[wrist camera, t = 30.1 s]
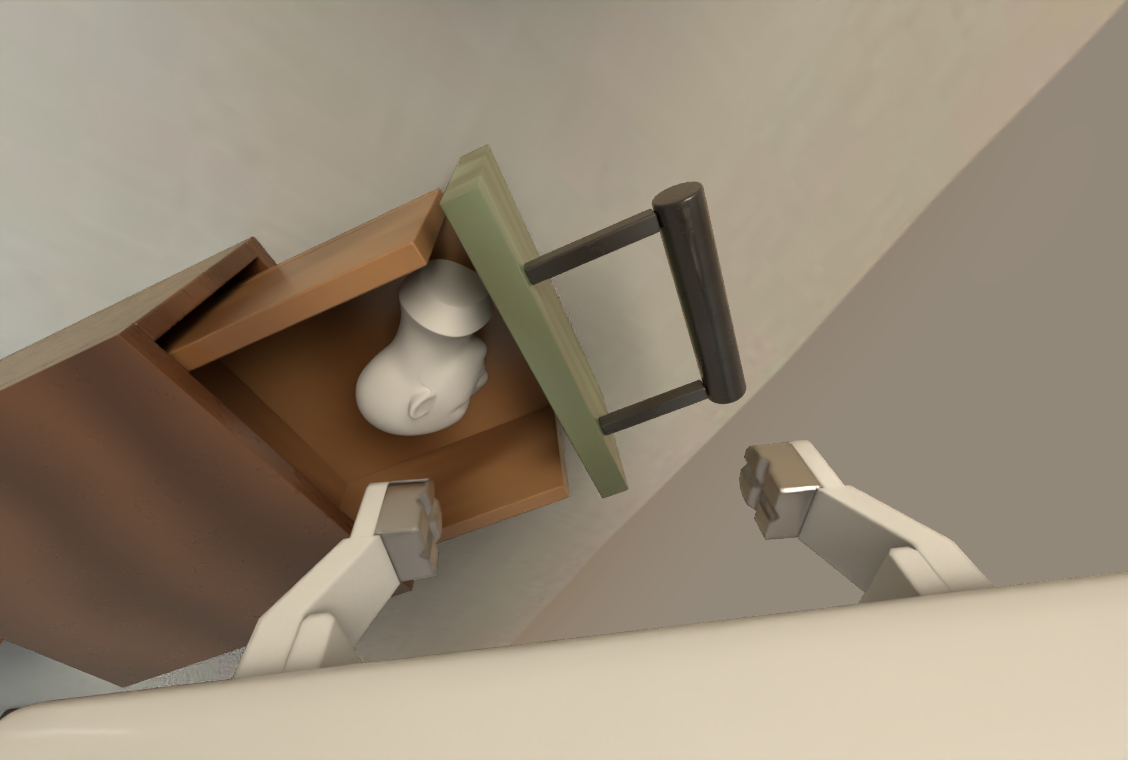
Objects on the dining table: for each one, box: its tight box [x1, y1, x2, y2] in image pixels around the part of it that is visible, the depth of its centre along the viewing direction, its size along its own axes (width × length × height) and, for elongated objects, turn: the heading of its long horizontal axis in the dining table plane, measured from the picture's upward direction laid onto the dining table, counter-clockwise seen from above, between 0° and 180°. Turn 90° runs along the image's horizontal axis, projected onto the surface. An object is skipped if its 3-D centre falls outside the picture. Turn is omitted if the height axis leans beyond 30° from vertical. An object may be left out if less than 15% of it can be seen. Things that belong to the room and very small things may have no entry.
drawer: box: [155, 145, 746, 544], centre depth 19 cm, size 21×13×7 cm, turn 112°
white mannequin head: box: [356, 259, 493, 436], centre depth 20 cm, size 4×8×5 cm
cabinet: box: [0, 237, 414, 687], centre depth 21 cm, size 16×14×8 cm
